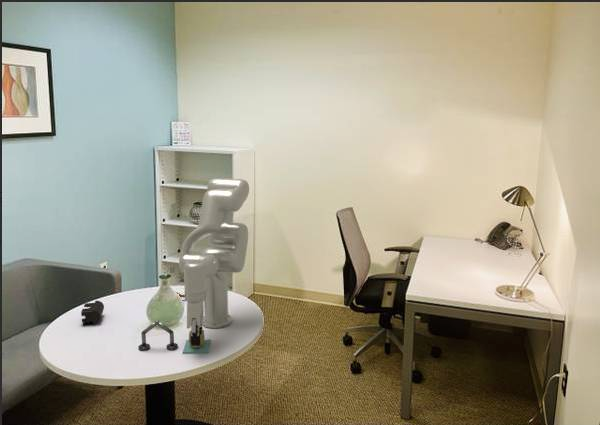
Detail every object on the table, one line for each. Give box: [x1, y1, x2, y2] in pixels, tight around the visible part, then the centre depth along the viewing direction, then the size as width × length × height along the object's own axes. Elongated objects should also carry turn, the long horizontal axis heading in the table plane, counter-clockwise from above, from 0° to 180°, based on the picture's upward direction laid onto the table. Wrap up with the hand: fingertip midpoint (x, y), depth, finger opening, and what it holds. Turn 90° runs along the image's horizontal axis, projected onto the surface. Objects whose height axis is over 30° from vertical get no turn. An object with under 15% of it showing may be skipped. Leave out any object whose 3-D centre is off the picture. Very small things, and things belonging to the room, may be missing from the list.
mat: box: [182, 339, 212, 355], centre depth 175 cm, size 9×9×1 cm
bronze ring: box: [188, 328, 206, 348], centre depth 174 cm, size 5×5×5 cm
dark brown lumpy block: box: [80, 300, 105, 327], centre depth 194 cm, size 10×7×7 cm
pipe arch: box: [137, 319, 179, 352], centre depth 173 cm, size 4×14×11 cm, turn 94°
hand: (197, 340), depth 174 cm, fingers open, 5 cm apart
